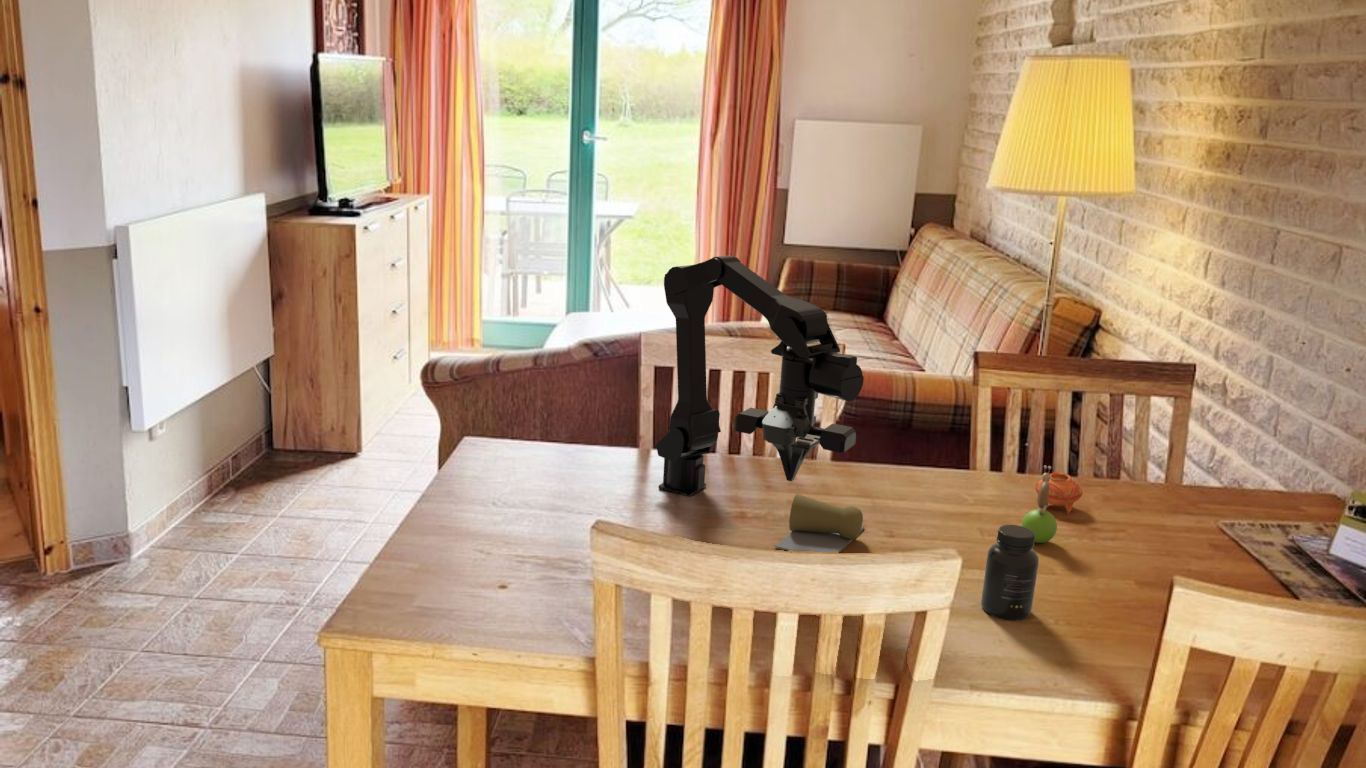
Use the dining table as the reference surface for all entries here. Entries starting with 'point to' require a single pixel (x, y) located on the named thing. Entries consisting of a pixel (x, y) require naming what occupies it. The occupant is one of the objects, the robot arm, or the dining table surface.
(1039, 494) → the snail figurine
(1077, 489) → the pot
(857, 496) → the dining table surface
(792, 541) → the mat
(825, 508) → the cork
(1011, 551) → the supplement bottle
